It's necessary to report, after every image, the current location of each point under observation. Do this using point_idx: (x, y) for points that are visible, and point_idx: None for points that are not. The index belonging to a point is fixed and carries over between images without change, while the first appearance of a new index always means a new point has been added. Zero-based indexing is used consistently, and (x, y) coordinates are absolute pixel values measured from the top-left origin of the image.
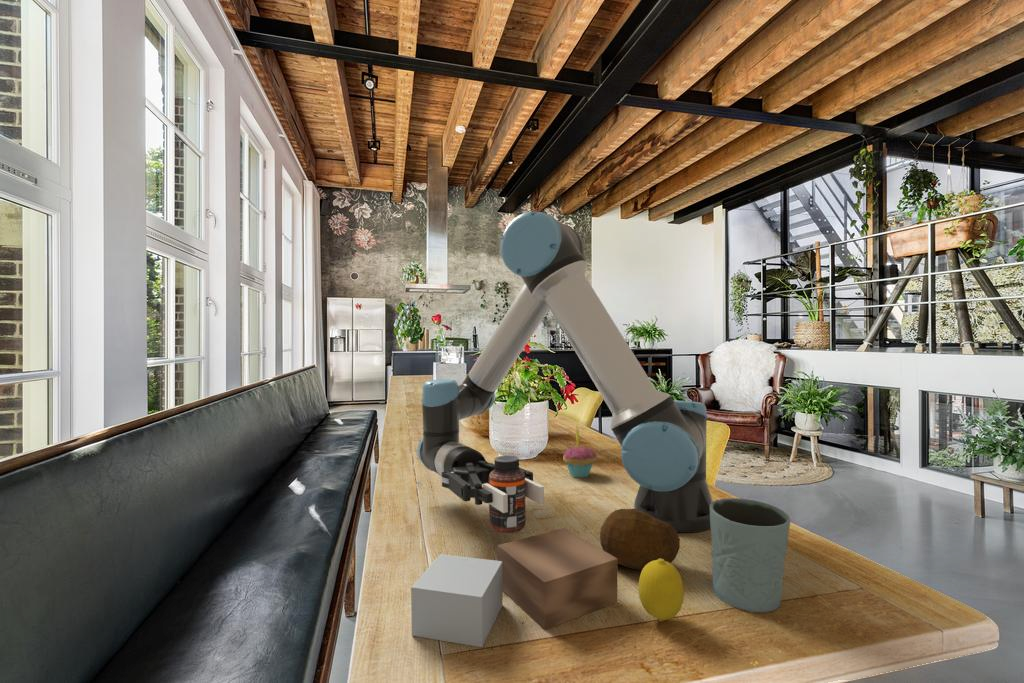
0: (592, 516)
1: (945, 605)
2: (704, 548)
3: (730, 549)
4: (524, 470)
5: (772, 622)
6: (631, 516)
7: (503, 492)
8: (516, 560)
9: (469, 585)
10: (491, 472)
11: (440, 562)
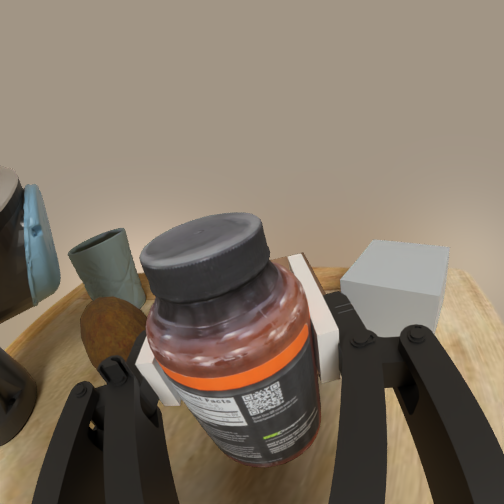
0: (33, 484)
1: (80, 285)
2: (60, 357)
3: (129, 256)
4: (64, 425)
5: (147, 287)
6: (111, 298)
7: (292, 264)
8: (318, 280)
9: (386, 249)
10: (287, 296)
11: (432, 279)
